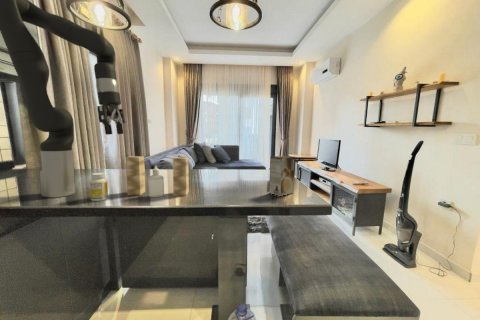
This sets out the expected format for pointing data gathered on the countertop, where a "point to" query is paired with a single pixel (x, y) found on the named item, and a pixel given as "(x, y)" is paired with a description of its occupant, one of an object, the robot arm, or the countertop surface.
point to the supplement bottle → (99, 187)
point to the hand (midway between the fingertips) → (115, 134)
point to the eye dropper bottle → (156, 184)
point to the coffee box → (282, 175)
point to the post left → (135, 175)
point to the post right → (180, 176)
